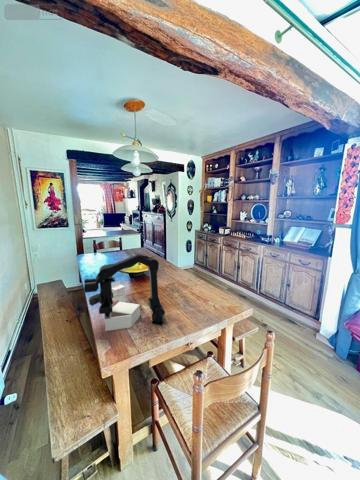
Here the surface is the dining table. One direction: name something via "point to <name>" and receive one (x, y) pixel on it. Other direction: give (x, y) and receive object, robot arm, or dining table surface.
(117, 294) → the ink cartridge box
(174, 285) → the dining table surface
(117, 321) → the front flap
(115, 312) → the carton
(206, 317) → the dining table surface
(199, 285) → the dining table surface
